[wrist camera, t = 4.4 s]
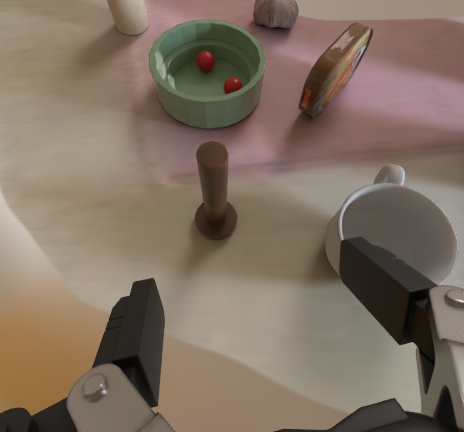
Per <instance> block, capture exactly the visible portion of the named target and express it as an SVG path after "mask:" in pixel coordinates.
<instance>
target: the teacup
mask: <svg viewBox="0 0 464 432" xmlns="http://www.w3.org/2000/svg"><path fill="white" fill-rule="evenodd" d="M404 176H405V173H404V169H403V168H402V167H400V166H398V165H394V164H390V165H386V166H384V167H383V168H382V169H381V170H380V171H379V173H378V175H377V176H376V178H375V181H374V183H373V184H371V185H368V186H365V187H362V188H360V189H358V190H356V191H355V192H354V193H352V194H351V195H350V196H349V197H348V198H347V199H346V201H345V202H344V204H343V205H342V207H341V208H340V209H339V211H338V212H337V213H336V214H335V216H334V217H333V219H332V220H331V222H330V224H329V226H328V228H327V231H326V236H325V250H326V254H327V257H328V260H329V262H330V264H331V266H332V267H333V269H334V270H335V272H336V273H337V274H338V275H339V276H340V273H339V261H340V244H341V241H342V240H344V239H349V238H354V237H359V236H360V237H363V238H364V239H365V240H367V241H368V242H370V243H371V244H372V245H376V246H379V247H381V248H384V249H386V250H389V251H390V252H391V253H393V254H394V255H396V256H397V257H398V258H399V259H401V260H403V261H404V262H406V263H407V265H410V266H411V267H413V268H414V269H416V270H417V271H418V272H420V273H421V274H423V275H424V276H425V277H427V278H428V279H430V280H431V281H433V282H434V283H435V284H437V285H440V284H441V283H443V282H444V281H445V280H446V279H447V278H448V277H449V276H450V275H451V273H452V272H453V270H454V268H455V265H456V263H457V259H458V253H459V246H458V239H457V237H456V233H455V229H454V227H453V225H452V223H451V221H450V219H449V218H448V216H447V215H446V214H445V212H444V211H443V210H442V209H441V208H440V207H439V206H438V205H437V204H436V203H435V202H434V201H432V200H431V199H430V198H429V197H427V196H426V195H424V194H422V193H420V192H418V191H416V190H414V189H411V188H409V187H406V186H403V182H404Z"/></svg>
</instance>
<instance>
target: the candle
mask: <svg viewBox="0 0 464 432" xmlns="http://www.w3.org/2000/svg"><path fill="white" fill-rule="evenodd" d="M107 2H108V5H109V7H110V10H111V13H112V16H113V18H114V21H115V24H116V26H117V28H118V30H119V31H120V32H121V33H123V34H126V35H137V34H141V33H143V32H144V31H145V30H146V29H147V28H148V26H149V21H148V17H147V13H146V8H145V4H144V0H107Z"/></svg>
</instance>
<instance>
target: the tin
mask: <svg viewBox="0 0 464 432" xmlns="http://www.w3.org/2000/svg"><path fill="white" fill-rule="evenodd" d="M372 35H373V28H369V27H366V26H364V25H361V24H358V23H354V24H352V25H351V26H349V27H348V28H347V29H346V30H345V31H344V32H343V33H342V34H341V36H340V37H339V38H338V39H337V40H336V41H335V42H334V43H333V44H332V45H331V46H330V47H329V48H328V49H327V50H326V51H325V52H324V53H323V54H322V55H321V56H320V58H319V59H318V60H317V62H316V63H315V65H314V66H313V68H312V70H311V71H310V73H309V75H308V77H307V79H306V82H305V84H304V88H303V92H302V96H301V99H300V104H299V108H300V110H302V111H303V112H305V113H307V114H309V115H310V116H312V118H316V117H317V116H318V115H319V114H320V113H321V112H322V111H323V110H324V109H325V108H326V107H327V105H328V104H329V103H330V102H331V101H332V100H333V99H334V97H335V96H336V95H337V94H338V93H339V92H340V91H341V89H342V88H343V87H344V86H345V85H346V84H347V82H348V81H349V79H350V78H351V76H352V75H353V73H354V72H355V70H356V68H357V67H358V65H359V63H360V61H361V59H362V57H363V55H364V54H365V52H366V50H367V47H368V45H369V43H370V40H371V38H372Z"/></svg>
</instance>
